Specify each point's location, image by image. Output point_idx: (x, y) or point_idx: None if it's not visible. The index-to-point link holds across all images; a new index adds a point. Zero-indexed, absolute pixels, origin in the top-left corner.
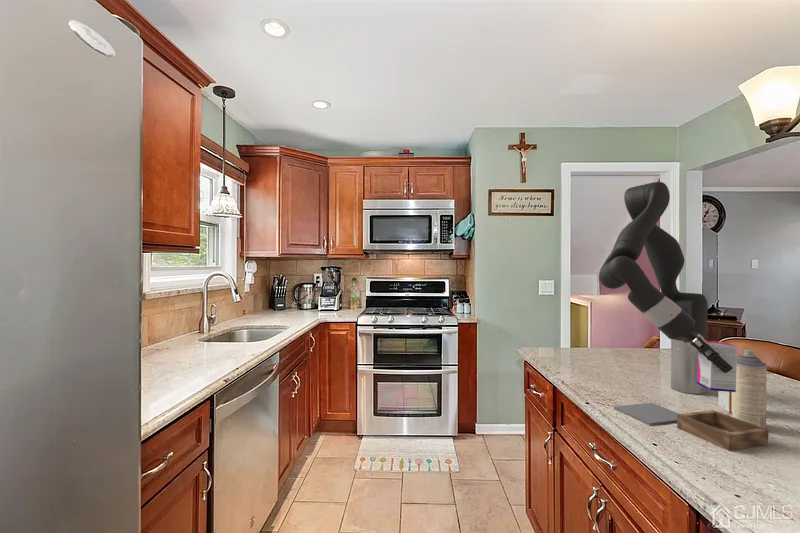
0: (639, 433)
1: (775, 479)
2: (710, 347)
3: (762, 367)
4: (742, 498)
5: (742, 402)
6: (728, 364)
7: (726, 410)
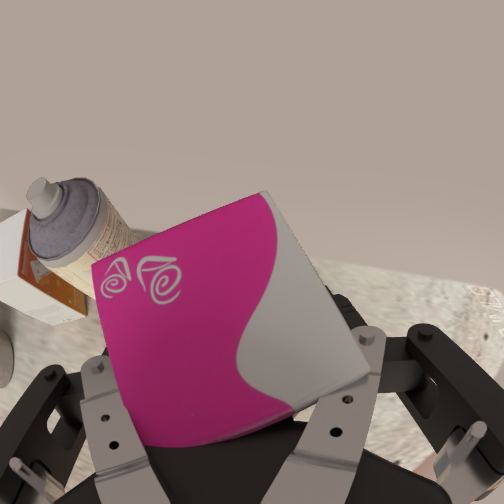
0: None
1: (413, 293)
2: (477, 366)
3: (99, 189)
4: (487, 331)
5: None
6: (331, 296)
7: (78, 318)
